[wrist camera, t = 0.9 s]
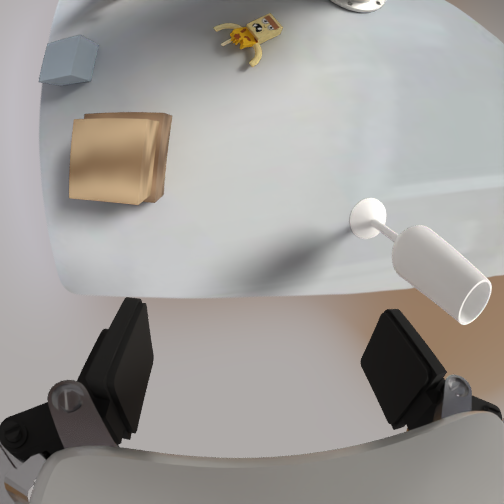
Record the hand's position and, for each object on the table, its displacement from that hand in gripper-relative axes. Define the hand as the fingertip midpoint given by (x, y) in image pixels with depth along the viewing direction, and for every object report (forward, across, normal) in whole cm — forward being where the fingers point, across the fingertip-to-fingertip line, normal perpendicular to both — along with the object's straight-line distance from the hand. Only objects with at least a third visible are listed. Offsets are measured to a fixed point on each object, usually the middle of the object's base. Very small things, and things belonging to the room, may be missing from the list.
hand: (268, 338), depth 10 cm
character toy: (+30, +2, -22) cm, 37 cm away
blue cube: (+29, +26, -19) cm, 43 cm away
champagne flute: (+29, -20, +2) cm, 35 cm away
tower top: (+24, +15, -4) cm, 29 cm away
